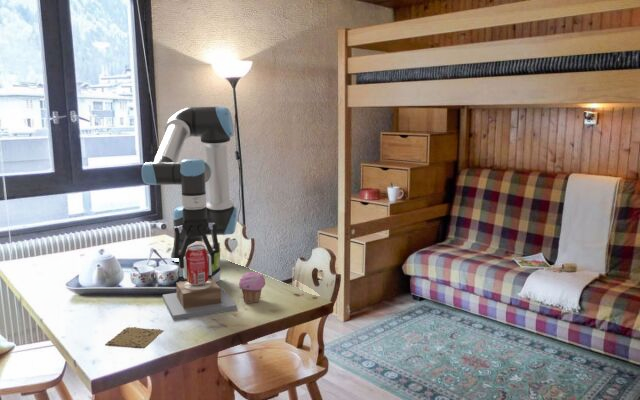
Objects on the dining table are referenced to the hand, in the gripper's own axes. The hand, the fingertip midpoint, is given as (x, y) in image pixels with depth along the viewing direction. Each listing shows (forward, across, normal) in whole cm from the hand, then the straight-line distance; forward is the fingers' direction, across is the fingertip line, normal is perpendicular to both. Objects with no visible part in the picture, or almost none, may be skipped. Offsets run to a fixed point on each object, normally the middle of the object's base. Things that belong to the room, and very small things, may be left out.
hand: (197, 275), depth 175 cm
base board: (+10, 0, 0) cm, 10 cm away
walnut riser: (+8, 0, 0) cm, 8 cm away
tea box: (+10, +5, +19) cm, 22 cm away
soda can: (+3, 0, 0) cm, 3 cm away
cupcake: (+10, +17, -5) cm, 20 cm away
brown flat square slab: (+10, -22, -18) cm, 30 cm away
